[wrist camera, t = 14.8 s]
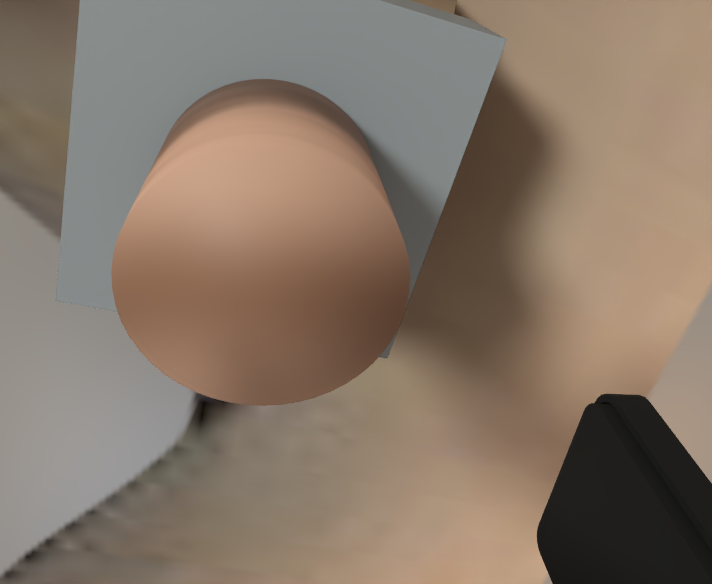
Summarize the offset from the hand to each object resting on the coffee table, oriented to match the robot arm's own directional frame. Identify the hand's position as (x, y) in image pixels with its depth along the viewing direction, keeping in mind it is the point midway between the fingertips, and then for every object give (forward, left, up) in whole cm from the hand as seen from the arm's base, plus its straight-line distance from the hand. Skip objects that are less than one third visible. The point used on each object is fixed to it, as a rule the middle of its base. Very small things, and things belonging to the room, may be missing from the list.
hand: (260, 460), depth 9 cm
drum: (0, 0, -12) cm, 12 cm away
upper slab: (0, 0, -16) cm, 16 cm away
